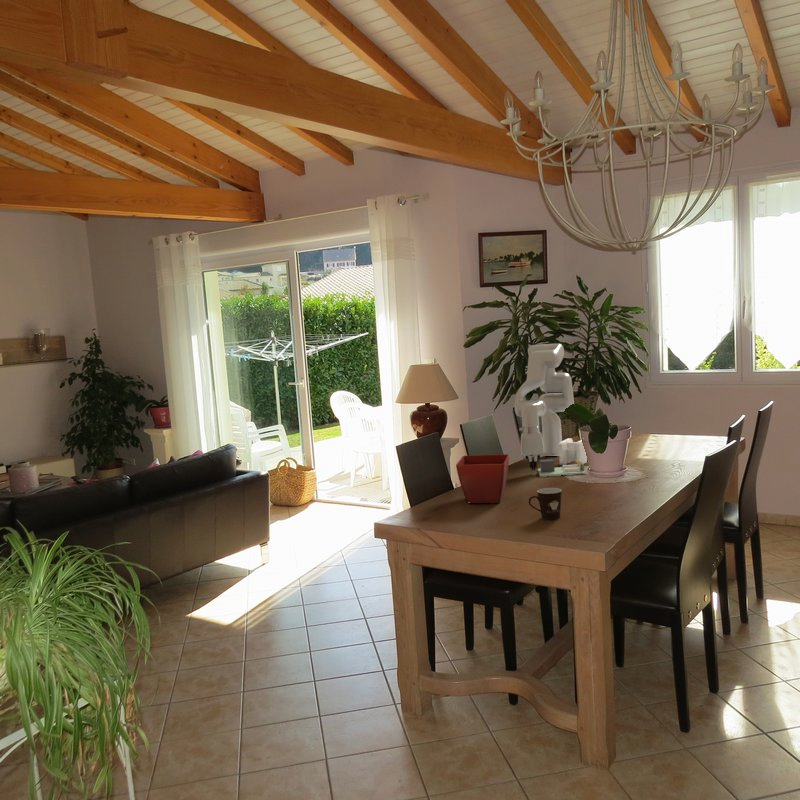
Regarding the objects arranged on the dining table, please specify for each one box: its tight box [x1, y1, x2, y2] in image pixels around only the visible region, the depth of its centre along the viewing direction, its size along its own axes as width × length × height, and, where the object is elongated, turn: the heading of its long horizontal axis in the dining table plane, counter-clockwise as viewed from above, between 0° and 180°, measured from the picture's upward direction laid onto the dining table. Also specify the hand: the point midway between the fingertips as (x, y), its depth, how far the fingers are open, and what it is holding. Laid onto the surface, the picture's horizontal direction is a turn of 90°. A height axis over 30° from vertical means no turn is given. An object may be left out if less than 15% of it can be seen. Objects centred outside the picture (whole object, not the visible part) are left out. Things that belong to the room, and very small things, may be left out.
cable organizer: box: [558, 437, 588, 466], centre depth 365 cm, size 15×11×12 cm
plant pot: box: [455, 453, 510, 504], centre depth 308 cm, size 19×19×17 cm
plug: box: [539, 458, 555, 472], centre depth 350 cm, size 4×6×5 cm, turn 83°
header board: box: [537, 460, 586, 478], centre depth 349 cm, size 14×20×5 cm
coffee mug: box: [528, 487, 563, 521], centre depth 275 cm, size 12×9×10 cm
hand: (533, 469), depth 351 cm, fingers closed
